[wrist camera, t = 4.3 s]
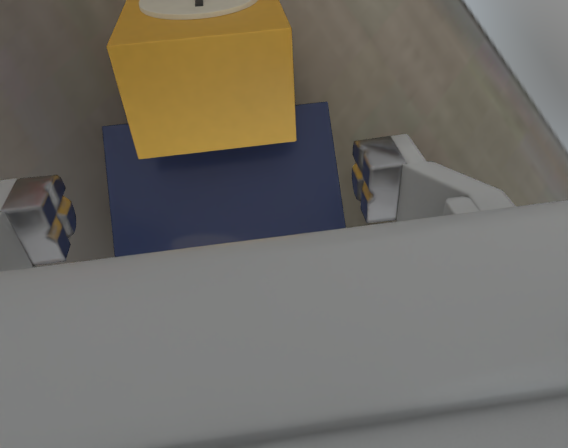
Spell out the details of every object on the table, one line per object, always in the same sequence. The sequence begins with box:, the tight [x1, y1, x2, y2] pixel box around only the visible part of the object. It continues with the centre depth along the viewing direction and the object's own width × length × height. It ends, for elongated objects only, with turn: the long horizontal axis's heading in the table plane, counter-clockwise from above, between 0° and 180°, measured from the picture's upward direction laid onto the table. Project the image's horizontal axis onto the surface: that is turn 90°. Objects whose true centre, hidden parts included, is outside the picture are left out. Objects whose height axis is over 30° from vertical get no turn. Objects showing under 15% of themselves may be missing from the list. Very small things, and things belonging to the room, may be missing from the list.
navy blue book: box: [102, 102, 346, 257], centre depth 24 cm, size 8×10×5 cm
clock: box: [107, 0, 296, 159], centre depth 22 cm, size 10×6×10 cm, turn 8°
